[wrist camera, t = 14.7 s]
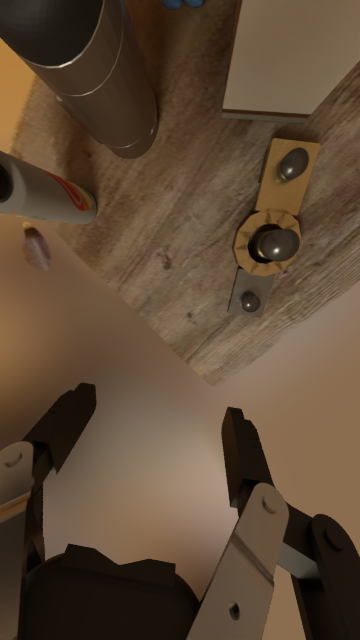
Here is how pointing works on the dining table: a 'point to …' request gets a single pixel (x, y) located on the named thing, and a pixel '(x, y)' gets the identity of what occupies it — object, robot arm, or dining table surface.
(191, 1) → the grapes
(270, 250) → the pin
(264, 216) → the tan piece
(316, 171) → the dining table surface
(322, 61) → the beige rectangular tower
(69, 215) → the lotion bottle
